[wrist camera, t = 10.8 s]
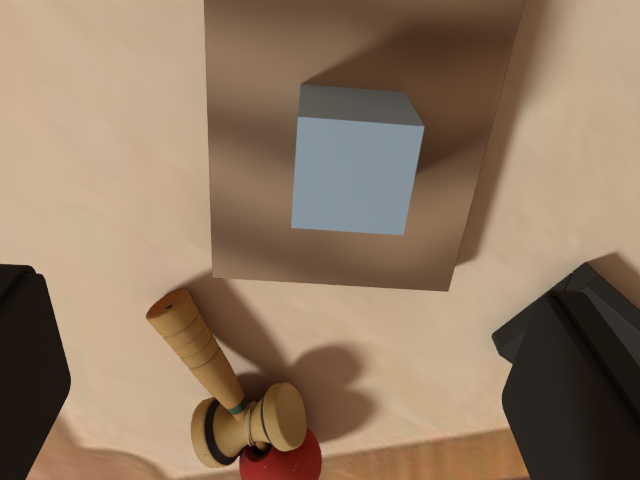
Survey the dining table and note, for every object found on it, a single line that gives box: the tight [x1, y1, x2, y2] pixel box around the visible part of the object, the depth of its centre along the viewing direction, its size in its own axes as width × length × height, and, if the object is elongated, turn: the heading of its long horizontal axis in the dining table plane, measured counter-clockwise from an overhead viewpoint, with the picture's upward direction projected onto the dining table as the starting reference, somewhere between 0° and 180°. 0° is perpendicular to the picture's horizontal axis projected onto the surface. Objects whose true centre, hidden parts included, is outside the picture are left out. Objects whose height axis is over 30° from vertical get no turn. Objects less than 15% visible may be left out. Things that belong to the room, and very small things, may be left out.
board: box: [204, 0, 525, 292], centre depth 27 cm, size 18×14×2 cm
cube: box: [291, 84, 424, 235], centre depth 24 cm, size 5×5×5 cm
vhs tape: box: [492, 262, 640, 366], centre depth 36 cm, size 14×8×2 cm, turn 50°
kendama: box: [146, 289, 322, 480], centre depth 35 cm, size 8×6×18 cm
